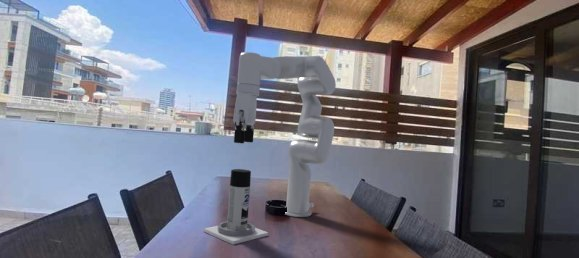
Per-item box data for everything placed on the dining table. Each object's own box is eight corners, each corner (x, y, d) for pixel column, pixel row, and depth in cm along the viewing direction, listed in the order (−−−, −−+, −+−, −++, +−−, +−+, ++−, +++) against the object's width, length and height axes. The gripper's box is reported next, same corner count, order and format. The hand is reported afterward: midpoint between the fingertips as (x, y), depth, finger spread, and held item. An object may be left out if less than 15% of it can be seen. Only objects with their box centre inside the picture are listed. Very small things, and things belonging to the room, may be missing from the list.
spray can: (242, 234, 111) (247, 172, 111) (222, 231, 113) (227, 170, 112) (249, 229, 118) (254, 170, 117) (230, 226, 119) (235, 168, 119)
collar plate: (238, 224, 126) (238, 217, 126) (267, 235, 116) (268, 228, 116) (203, 231, 114) (204, 223, 114) (233, 244, 104) (233, 236, 104)
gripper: (245, 93, 124) (241, 140, 124) (227, 86, 107) (223, 142, 107) (265, 94, 123) (261, 142, 123) (251, 88, 106) (246, 144, 106)
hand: (243, 142), depth 115 cm, fingers open, 9 cm apart
